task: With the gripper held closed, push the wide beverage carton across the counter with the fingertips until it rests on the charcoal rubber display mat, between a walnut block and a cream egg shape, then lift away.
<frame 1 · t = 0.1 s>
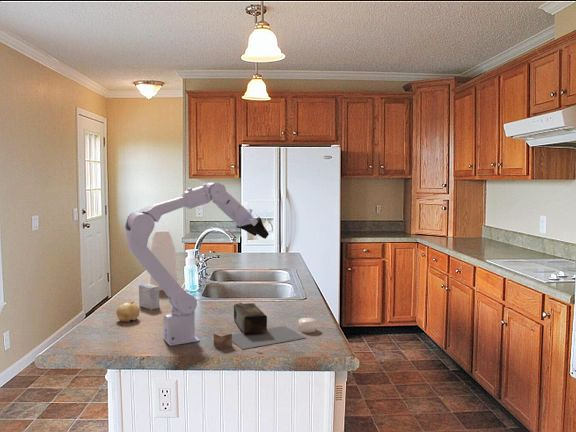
hand: (261, 235, 172), 32 cm above the worktop, tool tilted 50°, fingers open, 7 cm apart
walnut block: (222, 346, 157), on the worktop
mat: (265, 337, 165), on the worktop
milk: (162, 287, 235), on the worktop
medicine box: (149, 307, 200), on the worktop
onion: (128, 321, 183), on the worktop
beverage carton: (249, 327, 175), on the worktop, touching mat
cream egg shape: (307, 330, 172), on the worktop
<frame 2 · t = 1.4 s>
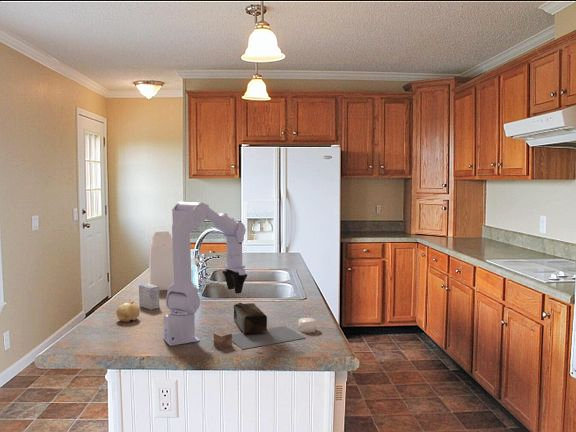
hand: (234, 291, 186), 10 cm above the worktop, tool pointing down, fingers open, 6 cm apart
nothing on the worktop moved.
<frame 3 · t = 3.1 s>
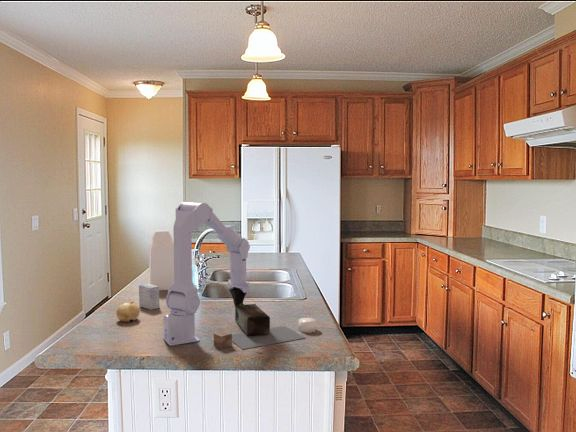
hand: (238, 308, 183), 4 cm above the worktop, tool pointing down, fingers closed
beverage carton: (251, 328, 174), on the worktop, touching gripper, mat
everything else where it was.
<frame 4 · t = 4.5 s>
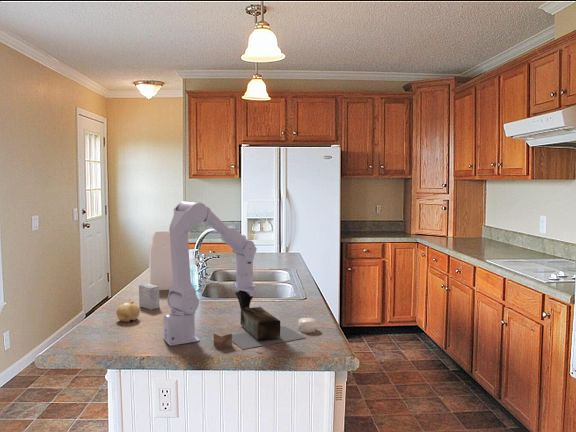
hand: (244, 311, 178), 4 cm above the worktop, tool pointing down, fingers closed
beverage carton: (259, 332, 169), on the worktop, touching gripper
everything else where it was.
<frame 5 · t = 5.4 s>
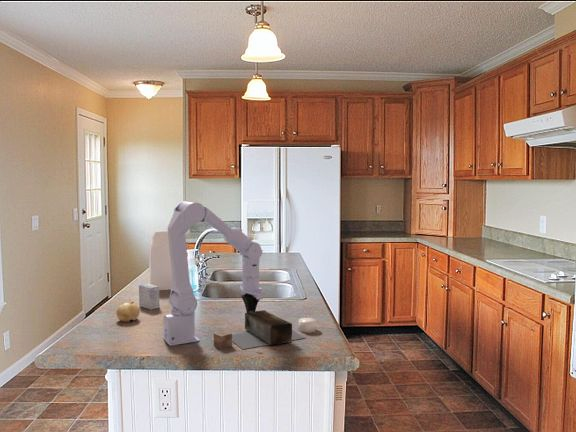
hand: (250, 315, 174), 4 cm above the worktop, tool pointing down, fingers closed
beverage carton: (267, 336, 165), on the worktop, touching gripper, mat
everything else where it was.
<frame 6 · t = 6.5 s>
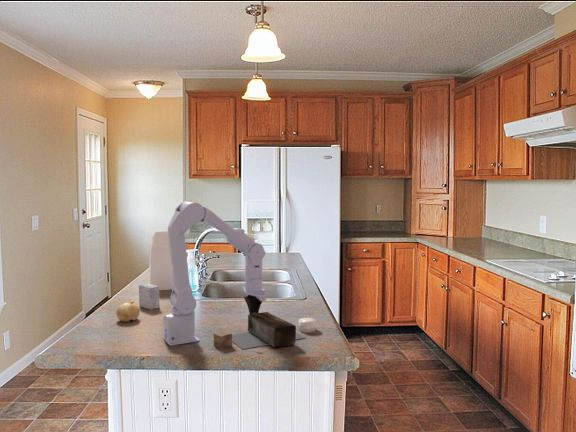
hand: (253, 317, 172), 4 cm above the worktop, tool pointing down, fingers closed
beverage carton: (270, 338, 163), resting on mat, touching gripper
everything else where it was.
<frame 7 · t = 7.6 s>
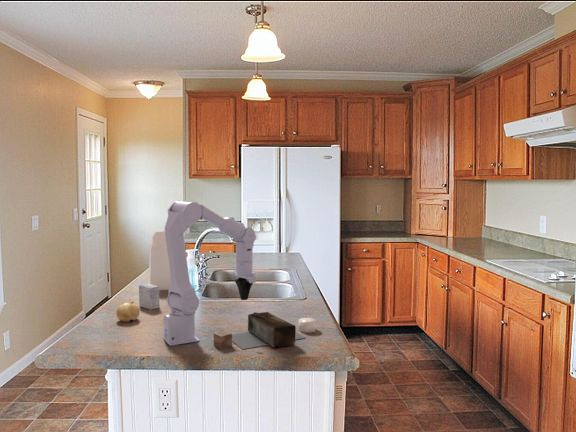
hand: (244, 299, 178), 9 cm above the worktop, tool pointing down, fingers closed
beverage carton: (270, 338, 163), resting on mat
everything else where it was.
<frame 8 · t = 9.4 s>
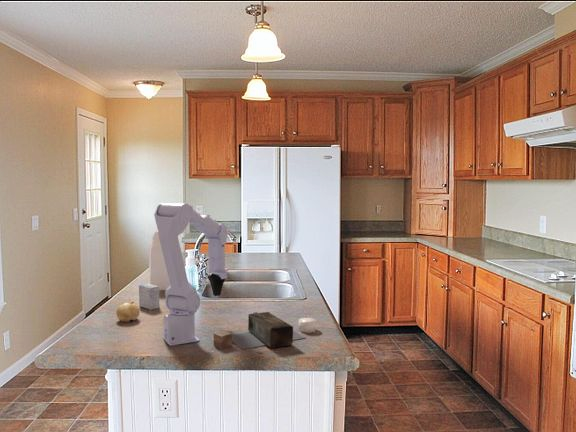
hand: (216, 295, 179), 10 cm above the worktop, tool pointing down, fingers closed
at the end: beverage carton inside the target area on the mat (1.5 cm from its centre), point 0.0 cm above the mat's base; beverage carton moved 13.9 cm from its start; cream egg shape moved 0.2 cm from its start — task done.
